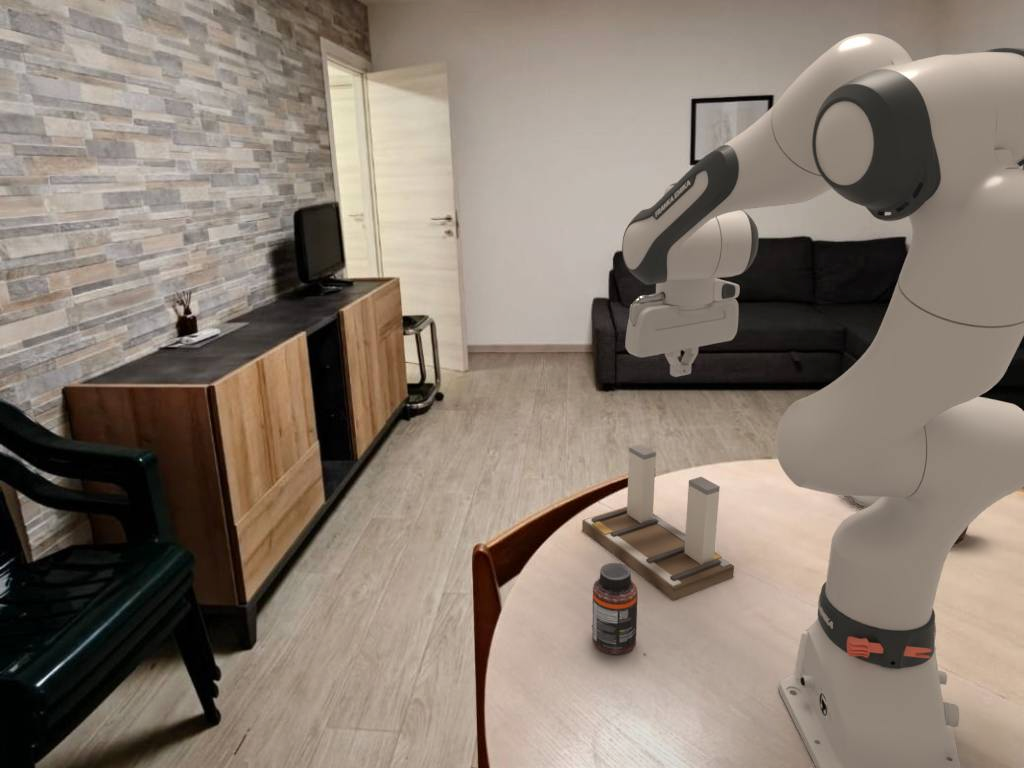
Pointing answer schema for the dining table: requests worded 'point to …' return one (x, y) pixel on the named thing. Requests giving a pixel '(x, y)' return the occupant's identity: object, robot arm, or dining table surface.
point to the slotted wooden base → (656, 552)
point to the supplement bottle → (614, 610)
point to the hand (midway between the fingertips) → (680, 374)
